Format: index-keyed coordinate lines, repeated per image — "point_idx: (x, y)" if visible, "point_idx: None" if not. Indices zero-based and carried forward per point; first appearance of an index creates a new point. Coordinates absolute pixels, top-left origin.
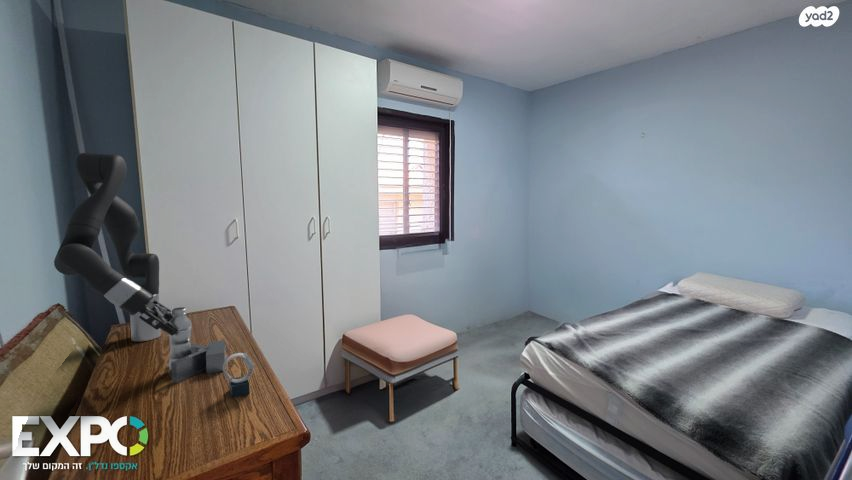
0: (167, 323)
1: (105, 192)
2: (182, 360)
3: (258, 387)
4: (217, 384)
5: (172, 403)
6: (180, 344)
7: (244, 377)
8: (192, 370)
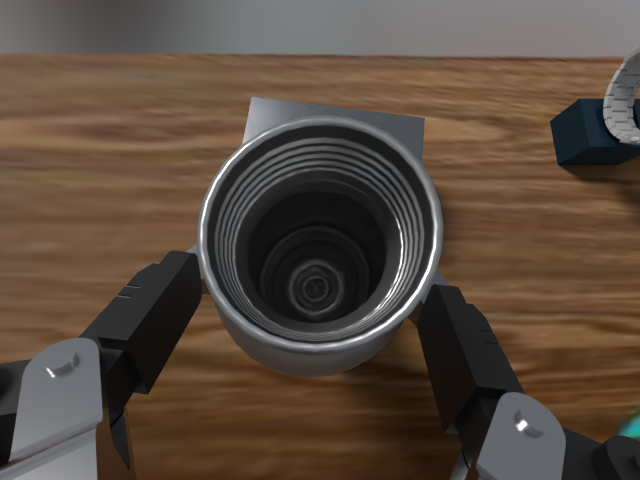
0: (501, 387)
1: None
2: (438, 279)
3: (576, 94)
4: (501, 190)
5: (583, 318)
6: (367, 280)
7: (615, 101)
8: None
